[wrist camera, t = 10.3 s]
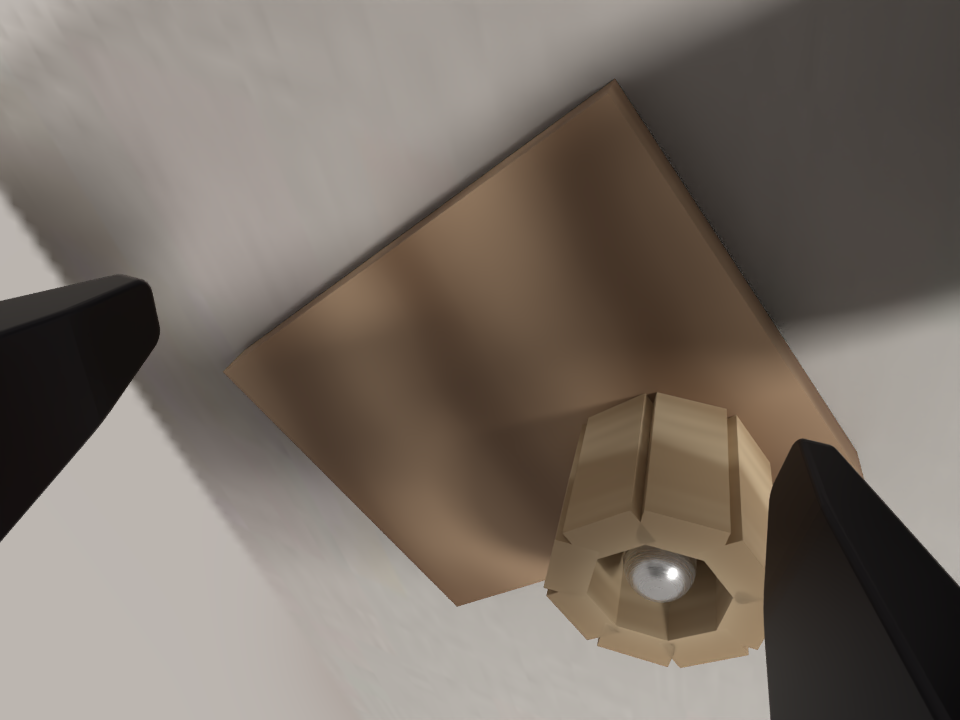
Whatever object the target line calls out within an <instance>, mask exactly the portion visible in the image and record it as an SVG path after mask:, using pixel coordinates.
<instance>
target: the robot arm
mask: <svg viewBox="0 0 960 720" xmlns="http://www.w3.org/2000/svg"><path fill="white" fill-rule="evenodd" d="M159 335H160V326H159V321H158V317H157V312H156V307H155V302H154V298H153V293H152V289H151V287H150V286H149V284H148V283H147V282H146V281H144V280H142V279H138V278H134V277H130V276H126V275H112V276H108V277H103V278H99V279H95V280H90V281H86V282H82V283H77V284H73V285H68V286H64V287H60V288H55V289H51V290H47V291H43V292H38V293H33V294H29V295H25V296H20V297H16V298H12V299H8V300H3V301H0V542H1V541H2V540H3V538H4V537H5V536H6V535H7V534H8V533H9V531H10V530H11V529H12V528H13V527H14V526H15V524H16V523H17V522H18V521H19V520H20V519H21V517H22V516H23V515H24V514H25V513H26V511H27V510H28V509H29V508H30V507H31V506H32V504H33V503H34V502H35V501H36V500H37V499H38V497H39V496H40V495H41V494H42V493H43V491H45V489H46V488H47V487H48V486H49V485H50V483H51V482H52V481H53V480H54V479H55V478H56V476H57V475H58V474H59V473H60V472H61V471H62V470H63V468H64V467H65V466H66V465H67V464H68V462H69V461H70V460H71V459H72V458H73V457H74V456H75V454H76V453H77V452H78V451H79V450H80V449H81V447H82V446H83V445H84V444H85V442H87V440H88V439H89V438H90V437H91V436H92V434H93V433H94V432H95V431H96V430H97V428H98V427H99V426H100V424H101V423H102V422H103V421H104V419H105V418H106V416H107V415H108V414H109V412H110V411H111V410H112V408H113V407H114V405H115V404H116V402H117V401H118V399H119V398H120V396H121V395H122V393H123V392H124V391H125V389H126V388H127V386H128V385H129V384H130V382H131V381H132V379H133V378H134V376H135V375H136V373H137V372H138V371H139V369H140V368H141V366H142V365H143V363H144V362H145V360H146V359H147V358H148V356H149V355H150V353H151V352H152V350H153V349H154V347H155V346H156V344H157V342H158V339H159ZM763 618H764V636H765V650H766V664H767V677H768V691H769V705H770V719H771V720H960V586H959V585H958V584H957V583H956V582H955V581H954V579H953V578H952V577H951V576H950V575H949V574H948V573H947V572H946V571H945V569H944V568H943V567H942V566H941V565H940V564H939V563H938V562H937V561H936V559H935V558H934V557H933V556H932V555H931V554H930V553H929V552H928V550H927V549H926V548H925V547H924V546H923V545H922V544H921V543H920V542H919V540H918V539H917V538H916V537H915V536H914V535H913V534H912V533H911V531H910V530H909V529H908V528H907V527H906V526H905V525H904V524H903V523H902V521H901V520H900V519H899V518H898V517H897V516H896V515H895V514H894V512H893V511H892V510H891V509H890V508H889V507H888V506H887V505H886V504H885V502H884V501H883V500H882V499H881V498H880V497H879V496H878V495H877V494H876V492H875V491H874V490H873V489H872V488H871V487H870V486H869V485H868V483H867V482H866V481H865V480H864V479H863V478H862V477H861V476H860V475H859V473H858V472H857V471H856V470H855V469H854V468H853V467H852V466H851V464H850V463H849V462H848V461H847V460H846V459H845V458H844V457H843V456H842V454H841V453H840V452H839V451H838V450H837V449H836V448H835V447H833V446H832V445H829V444H825V443H821V442H817V441H812V440H808V439H804V438H801V439H799V440H797V441H796V442H795V443H794V444H793V445H792V447H791V449H790V451H789V453H788V455H787V457H786V459H785V461H784V463H783V465H782V467H781V469H780V471H779V473H778V475H777V477H776V479H775V481H774V483H773V486H772V489H771V493H770V498H769V508H768V525H767V543H766V561H765V578H764V599H763Z"/></svg>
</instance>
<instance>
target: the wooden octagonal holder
mask: <svg viewBox="0 0 960 720" xmlns="http://www.w3.org/2000/svg"><path fill="white" fill-rule="evenodd" d="M772 486H773V485H772V476H771V466H770V462H769V461H768V459H767V458H766V456H765V455H764V453H763V452H762V451H761V449H760V448H759V446H758V445H757V443H756V442H755V441H754V439H753V438H752V436H751V435H750V434H749V432H748V431H747V429H746V428H745V426H744V425H743V424H742V422H741V421H740V419H739V418H738V416H737V415H735V416H733V417H730V418H727V409H725V408H721V407H717V406H713V405H708V404H704V403H700V402H696V401H692V400H687V399H683V398H679V397H675V396H671V395H666V394H662V393H658V392H657V393H656V396H655V400H654V403H652V402H651V400H650V399H649V398H648V396H647V395H646V394H645V393H644V394H642V395H640V396H637V397H635V398H633V399H630V400H628V401H626V402H623V403H621V404H619V405H617V406H614V407H612V408H610V409H607V410H605V411H603V412H600V413H598V414H596V415H594V416H591V417H589V418H588V422H587V425H583V424H582V428H581V432H580V436H579V440H578V444H577V448H576V453H575V457H574V461H573V465H572V469H571V473H570V477H569V482H568V486H567V490H566V494H565V499H564V503H563V507H562V511H561V515H560V520H559V524H558V528H557V532H556V537H555V541H554V545H553V549H552V554H551V558H550V562H549V566H548V571H547V575H546V579H545V583H544V588H547V589H548V591H547V595H546V596H547V597H548V598H549V599H550V600H551V601H552V602H553V603H554V605H555V606H556V607H557V608H558V609H559V610H560V611H561V612H562V613H563V614H564V615H565V616H566V618H567V619H568V620H569V621H570V622H571V623H572V624H573V625H574V626H575V627H576V628H577V629H578V631H579V632H580V633H581V634H582V635H583V636H584V637H585V638H586V639H587V640H590V639H594V638H598V644H597V646H599V647H603V648H606V649H609V650H613V651H616V652H619V653H623V654H626V655H629V656H633V657H636V658H639V659H643V660H646V661H649V662H652V663H656V664H659V665H662V666H666V667H668V665H669V663H670V661H671V659H673V660H674V661H675V663H676V664H677V665H678V666H679V667H680V668H683V667H688V666H693V665H698V664H704V663H709V662H714V661H720V660H725V659H730V658H735V657H741V656H746V655H749V653H748V647H750V648H753V649H756V650H758V648H759V647H760V645H761V643H762V642H763V640H764V638H765V636H764V618H763V599H764V578H765V561H766V543H767V525H768V508H769V498H770V493H771V489H772ZM643 545H648V546H652V547H656V548H659V549H663V550H667V551H670V552H674V553H677V554H681V555H685V556H688V557H692V558H696V576H695V579H694V582H693V584H692V586H691V588H690V589H689V590H688V592H687V593H686V594H685V595H683V596H682V597H681V598H679V599H677V600H675V601H672V602H666V603H658V602H653V601H650V600H647V599H645V598H643V597H642V596H640V595H639V594H638V593H636V592H635V591H634V590H633V588H632V587H631V586H630V584H629V583H628V581H627V579H626V576H625V573H624V568H623V557H624V551H626V550H630V549H633V548H636V547H640V546H643Z"/></svg>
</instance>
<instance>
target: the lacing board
mask: <svg viewBox="0 0 960 720" xmlns="http://www.w3.org/2000/svg"><path fill="white" fill-rule="evenodd" d="M223 372H224V373H225V374H226V375H227V376H228V377H229V378H230V379H231V380H232V381H233V382H234V383H235V384H236V385H237V386H238V387H239V388H240V389H241V390H242V391H243V392H244V393H245V394H246V395H247V396H248V397H249V398H250V399H251V400H252V401H253V402H254V403H255V405H256V406H257V407H258V408H259V409H260V410H261V411H262V412H263V413H264V414H265V415H266V416H267V417H268V418H269V419H270V420H271V421H272V422H273V423H274V424H275V425H276V426H277V427H278V428H279V429H280V430H281V431H282V432H283V433H284V434H285V435H286V436H287V437H288V438H289V439H290V440H291V441H292V442H293V443H294V444H295V445H296V446H297V447H298V448H299V449H300V450H301V451H302V452H303V453H304V454H305V455H306V456H307V457H308V458H309V459H310V460H311V461H312V462H313V463H314V464H315V465H316V466H317V467H318V468H319V469H320V470H321V471H322V472H323V473H324V474H325V475H326V476H327V477H328V478H329V479H330V480H331V481H332V482H333V483H334V484H335V485H336V486H337V487H338V488H339V489H340V490H341V491H342V492H343V493H344V494H345V495H346V496H347V497H348V498H349V499H350V500H351V501H352V502H353V503H354V504H355V505H356V506H357V507H358V508H359V509H360V510H361V511H362V512H363V513H364V514H365V515H366V516H367V517H368V518H369V519H370V520H371V521H372V522H373V523H374V524H375V525H376V526H377V527H378V528H379V529H380V530H381V531H382V532H383V533H384V534H385V535H386V536H387V537H388V538H389V539H390V540H391V541H392V542H393V543H394V544H395V545H396V546H397V547H398V548H399V549H400V550H401V551H402V552H403V553H404V554H405V555H406V556H407V557H408V558H409V559H410V560H411V561H412V562H413V563H414V564H415V565H416V566H417V567H418V568H419V569H420V570H421V571H422V572H423V573H424V574H425V575H426V576H427V577H428V578H429V579H430V580H431V581H432V582H433V583H434V584H435V585H436V586H437V587H438V588H439V589H440V590H441V591H442V592H443V593H444V594H445V595H446V596H447V597H448V598H449V599H450V600H451V601H452V602H453V603H454V604H455V605H456V606H461V605H464V604H467V603H471V602H474V601H477V600H481V599H484V598H487V597H491V596H494V595H497V594H501V593H504V592H507V591H511V590H514V589H517V588H521V587H524V586H527V585H531V584H534V583H537V582H541V581H544V580H545V579H546V575H547V571H548V566H549V562H550V558H551V554H552V549H553V545H554V541H555V537H556V532H557V528H558V524H559V520H560V515H561V511H562V507H563V503H564V499H565V494H566V490H567V486H568V482H569V477H570V473H571V469H572V465H573V461H574V457H575V453H576V448H577V444H578V440H579V436H580V432H581V428H582V424H583V425H587V422H588V418H589V417H591V416H594V415H596V414H598V413H600V412H603V411H605V410H607V409H610V408H612V407H614V406H617V405H619V404H621V403H623V402H626V401H628V400H630V399H633V398H635V397H637V396H640V395H642V394H644V393H645V394H646V395H647V396H648V398H649V399H650V400H651V402H652V403H654V400H655V396H656V393H657V392H658V393H662V394H666V395H671V396H675V397H679V398H683V399H687V400H692V401H696V402H700V403H704V404H708V405H713V406H717V407H721V408H725V409H727V418H730V417H733V416H735V415H737V416H738V418H739V419H740V421H741V422H742V424H743V425H744V426H745V428H746V429H747V431H748V432H749V434H750V435H751V436H752V438H753V439H754V441H755V442H756V443H757V445H758V446H759V448H760V449H761V451H762V452H763V453H764V455H765V456H766V458H767V459H768V461H769V462H770V466H771V476H772V485H773V483H774V481H775V479H776V477H777V475H778V473H779V471H780V469H781V467H782V465H783V463H784V461H785V459H786V457H787V455H788V453H789V451H790V449H791V447H792V445H793V444H794V443H795V442H796V441H797V440H799V439H801V438H804V439H808V440H812V441H817V442H821V443H825V444H829V445H832V446H833V447H835V448H836V449H837V450H838V451H839V452H840V453H841V454H842V456H843V457H844V458H845V459H846V460H847V461H848V462H849V463H850V464H851V466H852V467H853V468H854V469H855V470H856V471H857V472H858V473H859V475H860V476H861V477H862V478H863V479H864V477H863V473H862V470H861V466H860V462H859V458H858V454H857V451H856V450H855V448H854V447H853V445H852V444H851V442H850V440H849V439H848V437H847V436H846V434H845V433H844V431H843V430H842V428H841V427H840V425H839V423H838V422H837V420H836V419H835V417H834V416H833V414H832V413H831V411H830V410H829V408H828V406H827V405H826V403H825V402H824V400H823V399H822V397H821V396H820V394H819V393H818V391H817V390H816V388H815V386H814V385H813V383H812V382H811V380H810V379H809V377H808V376H807V374H806V373H805V371H804V369H803V368H802V366H801V365H800V363H799V362H798V360H797V359H796V357H795V356H794V354H793V353H792V351H791V349H790V348H789V346H788V345H787V343H786V342H785V340H784V339H783V337H782V336H781V334H780V332H779V331H778V329H777V328H776V326H775V325H774V323H773V322H772V320H771V319H770V317H769V315H768V314H767V312H766V311H765V309H764V308H763V306H762V305H761V303H760V302H759V300H758V299H757V297H756V295H755V294H754V292H753V291H752V289H751V288H750V286H749V285H748V283H747V282H746V280H745V278H744V277H743V275H742V274H741V272H740V271H739V269H738V268H737V266H736V265H735V263H734V261H733V260H732V258H731V257H730V255H729V254H728V252H727V251H726V249H725V248H724V246H723V245H722V243H721V241H720V240H719V238H718V237H717V235H716V234H715V232H714V231H713V229H712V228H711V226H710V224H709V223H708V221H707V220H706V218H705V217H704V215H703V214H702V212H701V211H700V209H699V207H698V206H697V204H696V203H695V201H694V200H693V198H692V197H691V195H690V194H689V192H688V191H687V189H686V187H685V186H684V184H683V183H682V181H681V180H680V178H679V177H678V175H677V174H676V172H675V170H674V169H673V167H672V166H671V164H670V163H669V161H668V160H667V158H666V157H665V155H664V154H663V152H662V150H661V149H660V147H659V146H658V144H657V143H656V141H655V140H654V138H653V137H652V135H651V133H650V132H649V130H648V129H647V127H646V126H645V124H644V123H643V121H642V120H641V118H640V116H639V115H638V113H637V112H636V110H635V109H634V107H633V106H632V104H631V103H630V101H629V100H628V98H627V96H626V95H625V93H624V92H623V90H622V89H621V87H620V86H619V84H618V83H617V81H616V79H614V80H613V81H611V82H610V83H608V84H607V85H606V86H604V87H603V88H602V89H600V90H599V91H598V92H596V93H595V94H593V95H592V96H591V97H589V98H588V99H587V100H585V101H584V102H582V103H581V104H580V105H578V106H577V107H576V108H574V109H573V110H572V111H570V112H569V113H567V114H566V115H565V116H563V117H562V118H561V119H559V120H558V121H557V122H555V123H554V124H552V125H551V126H550V127H548V128H547V129H546V130H544V131H543V132H542V133H540V134H539V135H537V136H536V137H535V138H533V139H532V140H531V141H529V142H528V143H527V144H525V145H524V146H522V147H521V148H520V149H518V150H517V151H516V152H514V153H513V154H512V155H510V156H509V157H507V158H506V159H505V160H503V161H502V162H501V163H499V164H498V165H497V166H495V167H494V168H492V169H491V170H490V171H488V172H487V173H486V174H484V175H483V176H482V177H480V178H479V179H477V180H476V181H475V182H473V183H472V184H471V185H469V186H468V187H467V188H465V189H464V190H462V191H461V192H460V193H458V194H457V195H456V196H454V197H453V198H452V199H450V200H449V201H447V202H446V203H445V204H443V205H442V206H441V207H439V208H438V209H436V210H435V211H434V212H432V213H431V214H430V215H428V216H427V217H426V218H424V219H423V220H421V221H420V222H419V223H417V224H416V225H415V226H413V227H412V228H411V229H409V230H408V231H406V232H405V233H404V234H402V235H401V236H400V237H398V238H397V239H396V240H394V241H393V242H391V243H390V244H389V245H387V246H386V247H385V248H383V249H382V250H381V251H379V252H378V253H376V254H375V255H374V256H372V257H371V258H370V259H368V260H367V261H366V262H364V263H363V264H361V265H360V266H359V267H357V268H356V269H355V270H353V271H352V272H351V273H349V274H348V275H346V276H345V277H344V278H342V279H341V280H340V281H338V282H337V283H336V284H334V285H333V286H331V287H330V288H329V289H327V290H326V291H325V292H323V293H322V294H321V295H319V296H318V297H316V298H315V299H314V300H312V301H311V302H310V303H308V304H307V305H306V306H304V307H303V308H301V309H300V310H299V311H297V312H296V313H295V314H293V315H292V316H290V317H289V318H288V319H286V320H285V321H284V322H282V323H281V324H280V325H278V326H277V327H275V328H274V329H273V330H271V331H270V332H269V333H267V334H266V335H265V336H263V337H262V338H260V339H259V340H258V341H256V342H255V343H254V344H252V345H251V346H250V347H248V348H247V349H245V350H244V351H243V352H242V353H241V354H240V355H239V356H238V357H237V358H236V359H235V360H234V361H233V362H232V363H231V364H230V365H229V366H228V367H227V368H226V369H225V370H224V371H223Z"/></svg>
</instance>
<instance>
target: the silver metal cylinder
mask: <svg viewBox="0 0 960 720" xmlns="http://www.w3.org/2000/svg"><path fill="white" fill-rule="evenodd" d="M623 568H624V573H625V576H626V579H627V581H628V583H629V584H630V586H631V587H632V588H633V590H634V591H635V592H636V593H638V594H639V595H640V596H642V597H643V598H645V599H647V600H650V601H653V602H658V603H666V602H672V601H675V600H677V599H679V598H681V597H682V596H683V595H685V594H686V593H687V592H688V590H689V589H690V588H691V586H692V584H693V582H694V579H695V576H696V558H692V557H688V556H685V555H681V554H677V553H674V552H670V551H667V550H663V549H659V548H656V547H652V546H648V545H643V546H640V547H636V548H633V549H630V550H626V551H624V557H623Z"/></svg>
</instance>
